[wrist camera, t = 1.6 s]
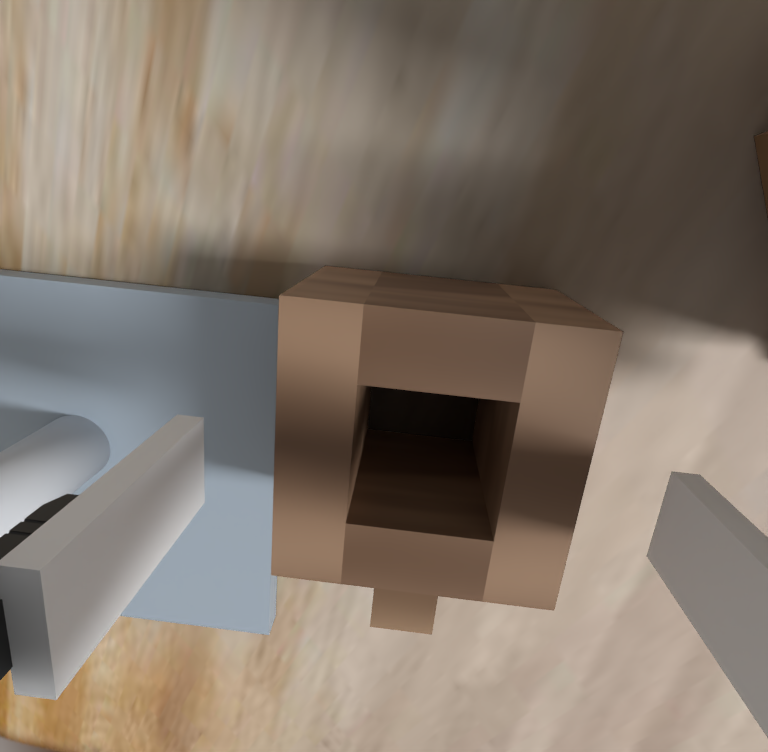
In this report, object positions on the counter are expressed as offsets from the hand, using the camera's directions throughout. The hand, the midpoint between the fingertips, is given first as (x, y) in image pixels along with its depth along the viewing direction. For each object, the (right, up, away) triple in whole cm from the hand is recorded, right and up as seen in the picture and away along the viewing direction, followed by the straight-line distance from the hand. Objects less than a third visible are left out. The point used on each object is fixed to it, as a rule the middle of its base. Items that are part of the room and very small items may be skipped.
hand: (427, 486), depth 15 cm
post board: (-15, 0, +9) cm, 18 cm away
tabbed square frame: (0, +1, +8) cm, 8 cm away
